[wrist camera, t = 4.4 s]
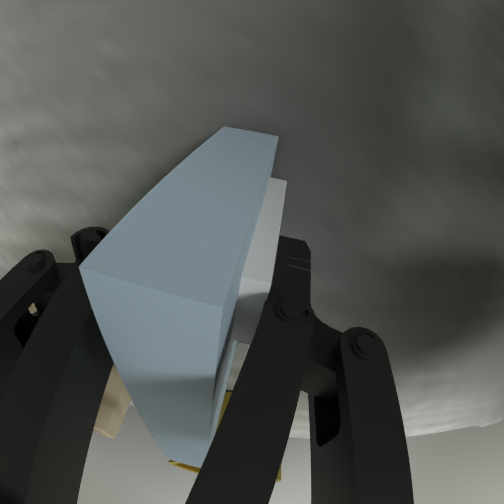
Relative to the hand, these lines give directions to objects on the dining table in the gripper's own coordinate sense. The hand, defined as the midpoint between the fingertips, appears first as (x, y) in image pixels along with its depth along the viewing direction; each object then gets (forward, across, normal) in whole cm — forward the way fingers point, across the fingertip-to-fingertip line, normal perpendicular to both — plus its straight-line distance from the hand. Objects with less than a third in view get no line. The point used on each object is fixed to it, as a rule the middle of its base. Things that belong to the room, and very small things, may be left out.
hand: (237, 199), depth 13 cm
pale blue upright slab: (+1, 0, -5) cm, 5 cm away
